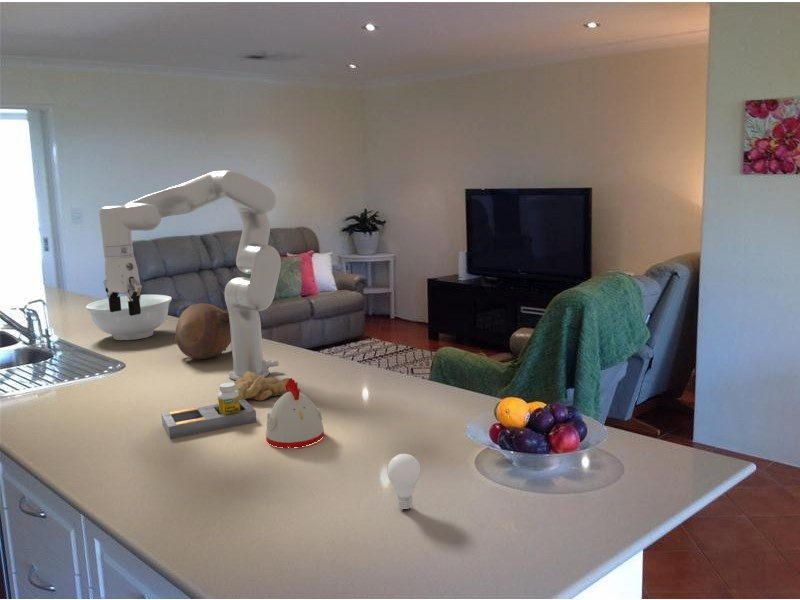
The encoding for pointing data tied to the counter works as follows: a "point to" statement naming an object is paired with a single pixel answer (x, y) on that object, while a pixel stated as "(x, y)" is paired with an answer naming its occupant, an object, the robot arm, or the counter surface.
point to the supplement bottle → (228, 399)
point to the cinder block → (205, 419)
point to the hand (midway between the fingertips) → (125, 313)
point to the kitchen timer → (294, 420)
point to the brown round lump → (203, 331)
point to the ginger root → (259, 386)
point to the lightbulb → (404, 477)
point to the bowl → (130, 317)
